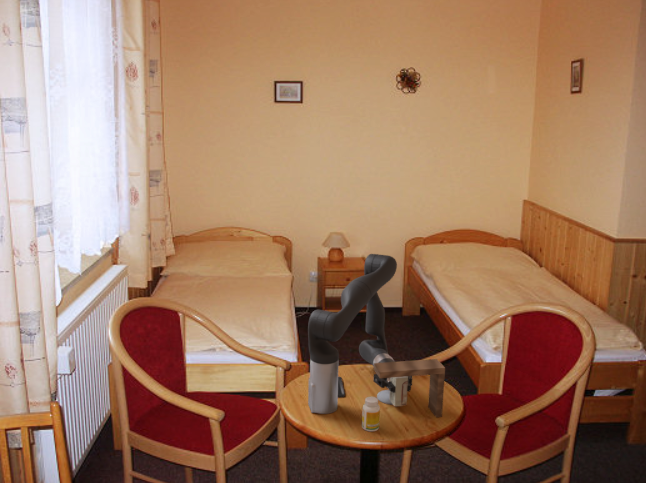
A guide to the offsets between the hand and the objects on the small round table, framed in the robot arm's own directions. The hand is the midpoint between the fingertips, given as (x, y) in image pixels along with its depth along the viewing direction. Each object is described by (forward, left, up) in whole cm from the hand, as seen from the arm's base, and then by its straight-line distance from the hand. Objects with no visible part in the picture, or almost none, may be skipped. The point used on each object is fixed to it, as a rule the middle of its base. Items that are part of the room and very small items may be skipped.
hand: (401, 389), depth 200 cm
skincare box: (0, +3, -6) cm, 7 cm away
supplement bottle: (-13, -9, -8) cm, 17 cm away
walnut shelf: (+1, -3, -8) cm, 8 cm away
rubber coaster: (0, +9, -8) cm, 12 cm away
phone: (-18, +20, -8) cm, 29 cm away
